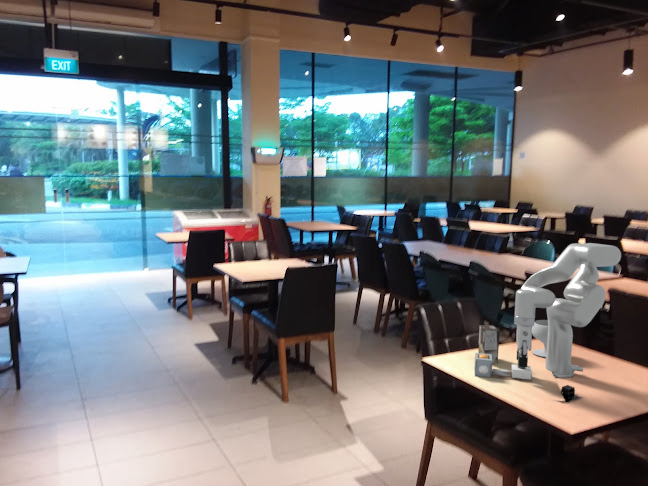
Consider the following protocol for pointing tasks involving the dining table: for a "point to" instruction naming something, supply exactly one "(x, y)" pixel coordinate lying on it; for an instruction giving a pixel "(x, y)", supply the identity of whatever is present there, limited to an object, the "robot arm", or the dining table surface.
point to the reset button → (483, 356)
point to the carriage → (521, 371)
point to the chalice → (540, 336)
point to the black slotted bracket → (569, 393)
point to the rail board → (505, 375)
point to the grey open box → (483, 365)
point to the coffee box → (489, 341)
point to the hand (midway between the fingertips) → (521, 363)
